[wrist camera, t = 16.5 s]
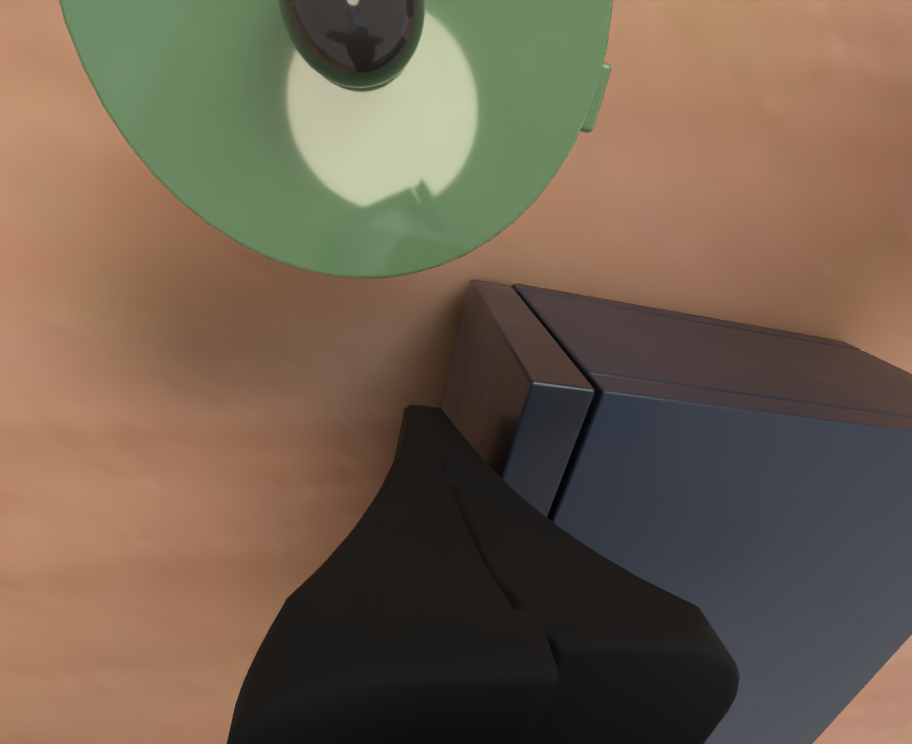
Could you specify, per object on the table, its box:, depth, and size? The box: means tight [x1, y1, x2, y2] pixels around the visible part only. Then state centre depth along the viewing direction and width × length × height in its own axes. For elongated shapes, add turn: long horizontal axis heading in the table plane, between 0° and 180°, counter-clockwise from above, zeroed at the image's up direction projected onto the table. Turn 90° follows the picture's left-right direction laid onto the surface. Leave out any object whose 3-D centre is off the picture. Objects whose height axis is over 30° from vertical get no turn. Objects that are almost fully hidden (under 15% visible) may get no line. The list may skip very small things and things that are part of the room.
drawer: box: [440, 280, 595, 518], centre depth 15 cm, size 14×13×6 cm
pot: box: [59, 0, 612, 278], centre depth 8 cm, size 6×7×8 cm
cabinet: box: [513, 284, 912, 744], centre depth 15 cm, size 12×13×6 cm
